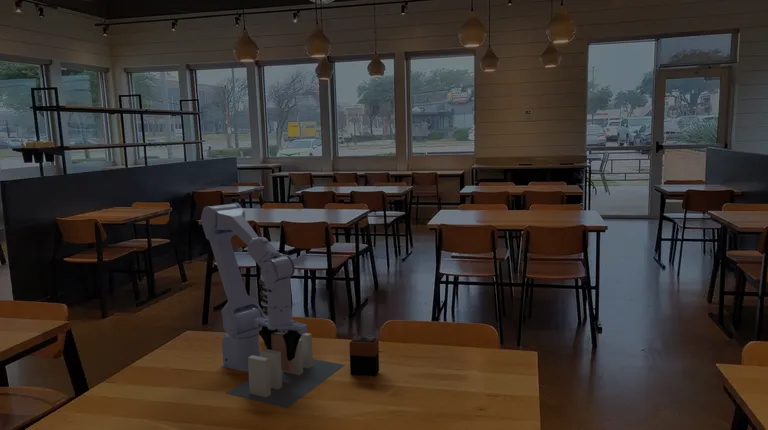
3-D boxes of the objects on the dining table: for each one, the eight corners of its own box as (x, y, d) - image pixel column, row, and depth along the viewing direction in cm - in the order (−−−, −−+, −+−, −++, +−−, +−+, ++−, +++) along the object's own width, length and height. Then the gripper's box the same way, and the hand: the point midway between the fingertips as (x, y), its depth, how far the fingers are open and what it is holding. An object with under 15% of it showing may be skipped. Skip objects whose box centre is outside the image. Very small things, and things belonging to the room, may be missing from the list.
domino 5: (309, 368, 148) (308, 335, 147) (293, 365, 150) (292, 333, 149) (312, 366, 149) (311, 333, 148) (297, 363, 152) (295, 331, 150)
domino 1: (266, 397, 132) (264, 360, 131) (249, 393, 134) (247, 357, 133) (270, 394, 133) (269, 358, 132) (254, 390, 136) (252, 355, 134)
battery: (376, 378, 142) (375, 340, 141) (350, 376, 144) (348, 338, 142) (379, 371, 146) (378, 334, 145) (354, 369, 148) (353, 333, 146)
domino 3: (288, 371, 140) (287, 336, 138) (272, 368, 142) (270, 334, 140) (292, 369, 141) (291, 334, 140) (276, 366, 143) (274, 332, 142)
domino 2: (278, 389, 136) (276, 354, 135) (261, 385, 138) (259, 350, 137) (282, 386, 137) (280, 351, 136) (265, 383, 140) (264, 348, 138)
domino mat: (225, 394, 135) (225, 393, 135) (289, 355, 158) (289, 354, 158) (287, 409, 127) (287, 407, 127) (345, 366, 150) (345, 364, 150)
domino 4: (299, 375, 144) (298, 341, 143) (283, 371, 146) (282, 338, 145) (303, 372, 145) (301, 339, 144) (287, 369, 148) (285, 336, 146)
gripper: (245, 306, 139) (248, 358, 141) (294, 313, 132) (296, 368, 134) (263, 298, 145) (266, 348, 147) (311, 304, 139) (313, 357, 140)
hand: (282, 357), depth 141 cm, fingers closed on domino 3, 5 cm apart
